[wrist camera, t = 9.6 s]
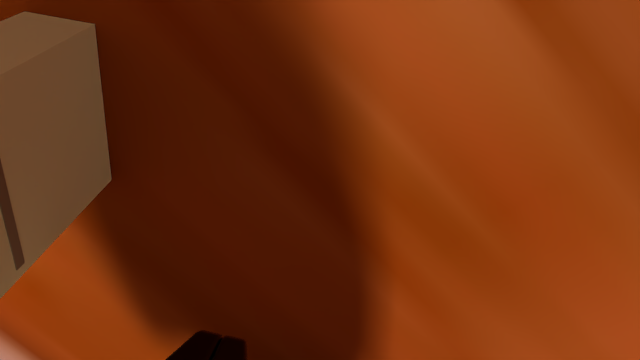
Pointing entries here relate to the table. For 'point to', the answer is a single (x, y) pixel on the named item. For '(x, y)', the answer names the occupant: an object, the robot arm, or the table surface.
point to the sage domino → (47, 134)
